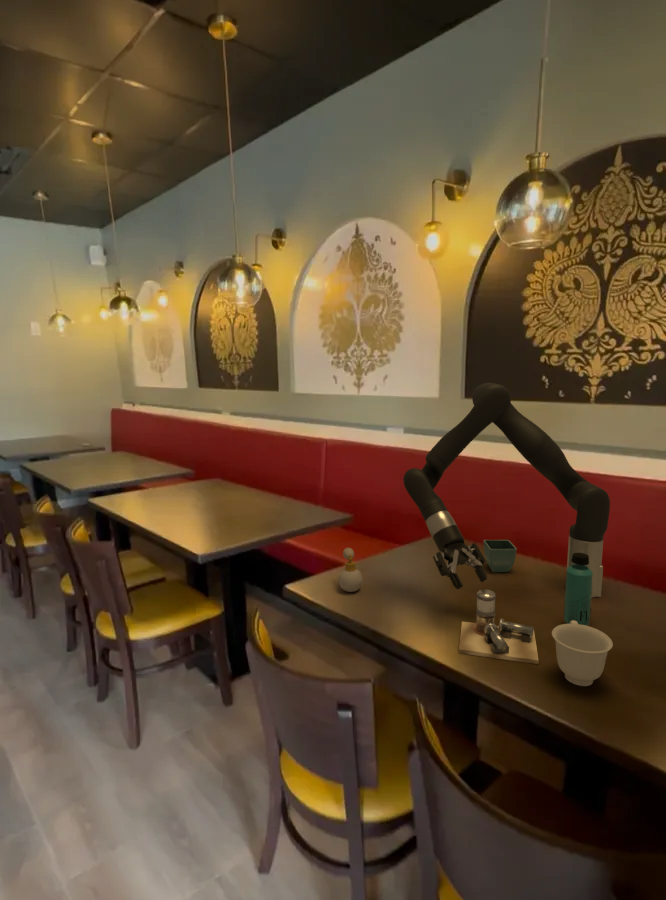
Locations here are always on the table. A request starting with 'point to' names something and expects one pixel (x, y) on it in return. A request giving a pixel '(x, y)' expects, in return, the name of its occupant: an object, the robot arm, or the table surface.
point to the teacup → (581, 652)
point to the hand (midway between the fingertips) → (472, 584)
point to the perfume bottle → (350, 573)
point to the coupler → (485, 609)
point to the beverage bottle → (578, 590)
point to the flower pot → (499, 554)
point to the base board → (476, 645)
